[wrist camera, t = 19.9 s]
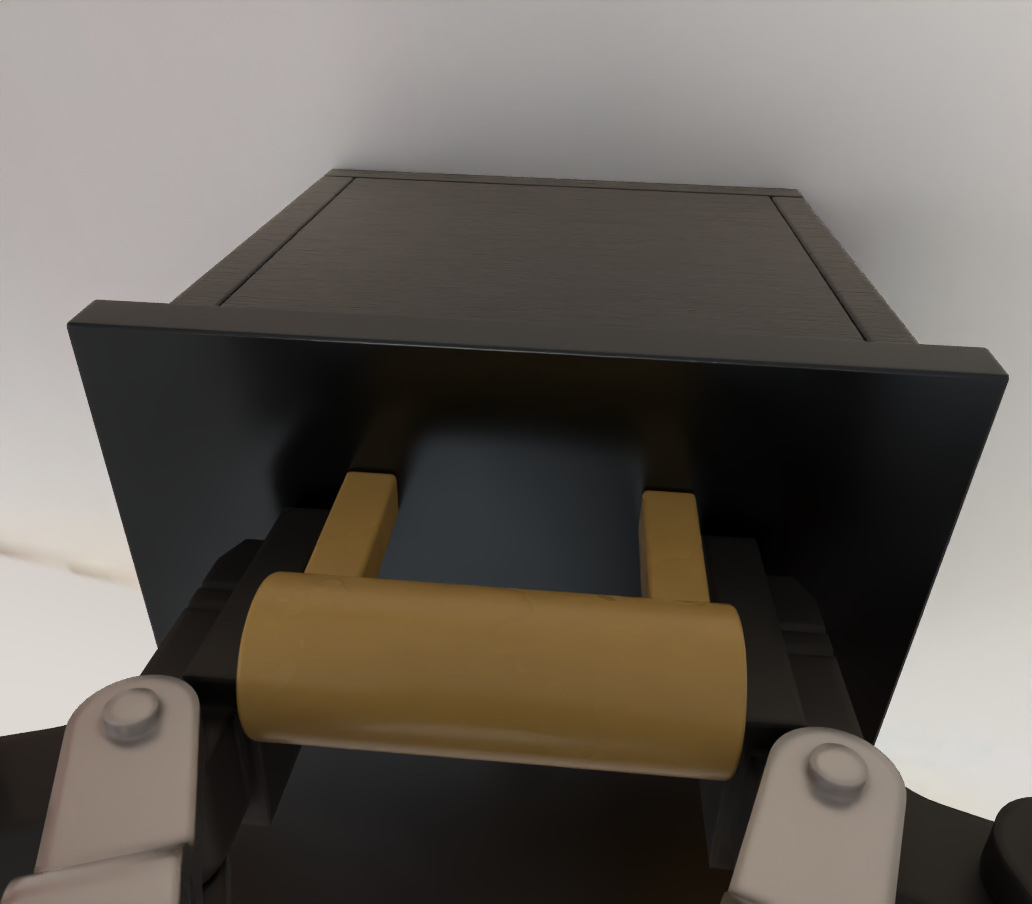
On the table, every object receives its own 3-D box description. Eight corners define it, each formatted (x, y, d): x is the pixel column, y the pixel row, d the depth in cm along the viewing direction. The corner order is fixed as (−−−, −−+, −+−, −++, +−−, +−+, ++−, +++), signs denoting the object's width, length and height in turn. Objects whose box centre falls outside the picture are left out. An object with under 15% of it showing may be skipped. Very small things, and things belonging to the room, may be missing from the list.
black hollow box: (330, 168, 22) (136, 328, 13) (798, 189, 22) (946, 374, 12) (364, 593, 29) (251, 899, 20) (720, 619, 28) (778, 949, 19)
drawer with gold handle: (94, 297, 12) (-168, 515, 8) (988, 345, 11) (1202, 612, 7) (250, 900, 20) (159, 1162, 16) (779, 950, 19) (825, 1238, 15)
